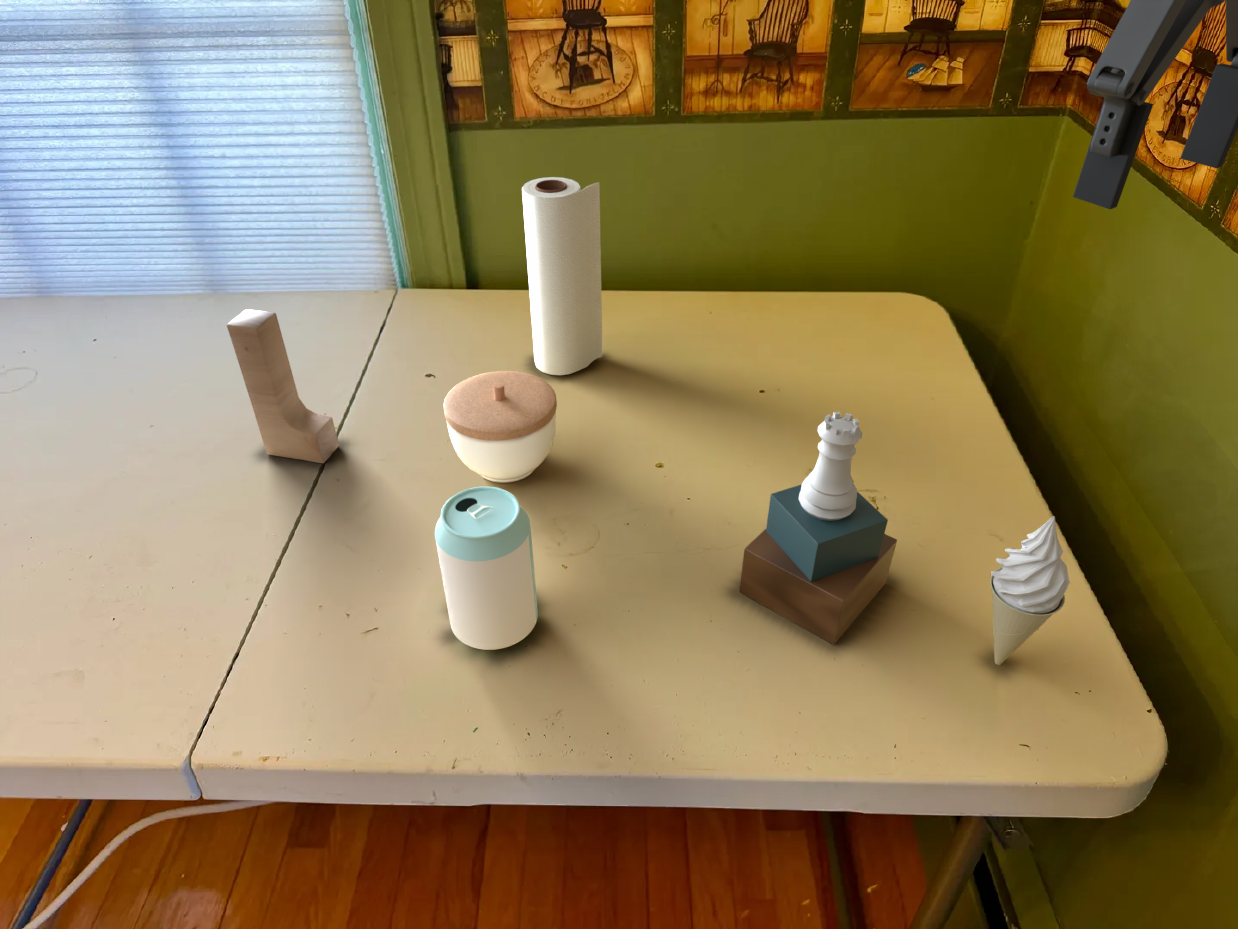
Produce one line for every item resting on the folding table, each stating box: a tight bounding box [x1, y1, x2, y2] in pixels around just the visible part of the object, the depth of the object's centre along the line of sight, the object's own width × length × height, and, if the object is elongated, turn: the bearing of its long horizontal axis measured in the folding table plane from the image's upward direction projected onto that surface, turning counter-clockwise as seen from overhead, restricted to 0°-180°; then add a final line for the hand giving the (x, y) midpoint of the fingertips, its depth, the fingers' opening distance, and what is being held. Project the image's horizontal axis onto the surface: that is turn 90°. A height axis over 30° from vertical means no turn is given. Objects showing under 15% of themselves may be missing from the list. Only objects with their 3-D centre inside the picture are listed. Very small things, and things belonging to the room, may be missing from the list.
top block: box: [765, 483, 889, 582], centre depth 70 cm, size 6×6×4 cm
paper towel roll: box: [521, 176, 604, 376], centre depth 96 cm, size 7×6×21 cm
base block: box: [739, 528, 898, 646], centre depth 72 cm, size 9×9×5 cm
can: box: [434, 485, 539, 651], centre depth 67 cm, size 7×7×12 cm
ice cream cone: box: [989, 515, 1071, 666], centre depth 63 cm, size 5×5×15 cm
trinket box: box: [442, 370, 558, 484], centre depth 85 cm, size 11×11×9 cm
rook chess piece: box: [799, 411, 863, 521], centre depth 66 cm, size 4×4×8 cm
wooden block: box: [226, 308, 340, 464], centre depth 85 cm, size 7×3×15 cm, turn 76°
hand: (1150, 181), depth 61 cm, fingers open, 13 cm apart
